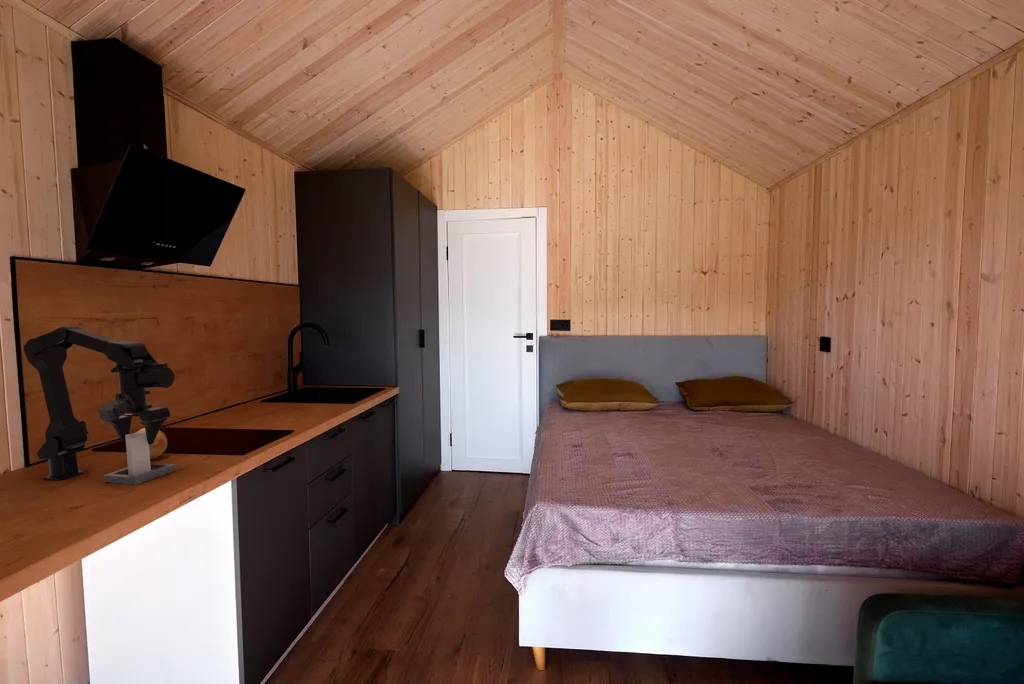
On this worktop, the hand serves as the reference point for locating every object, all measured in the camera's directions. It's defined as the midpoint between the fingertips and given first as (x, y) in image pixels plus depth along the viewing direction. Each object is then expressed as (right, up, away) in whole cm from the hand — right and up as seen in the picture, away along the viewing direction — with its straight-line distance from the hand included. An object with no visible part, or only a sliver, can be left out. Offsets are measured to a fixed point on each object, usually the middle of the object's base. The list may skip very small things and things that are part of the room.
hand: (137, 443), depth 137 cm
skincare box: (0, -10, +1) cm, 10 cm away
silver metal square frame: (0, -9, +1) cm, 10 cm away
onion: (-9, -9, +17) cm, 21 cm away
